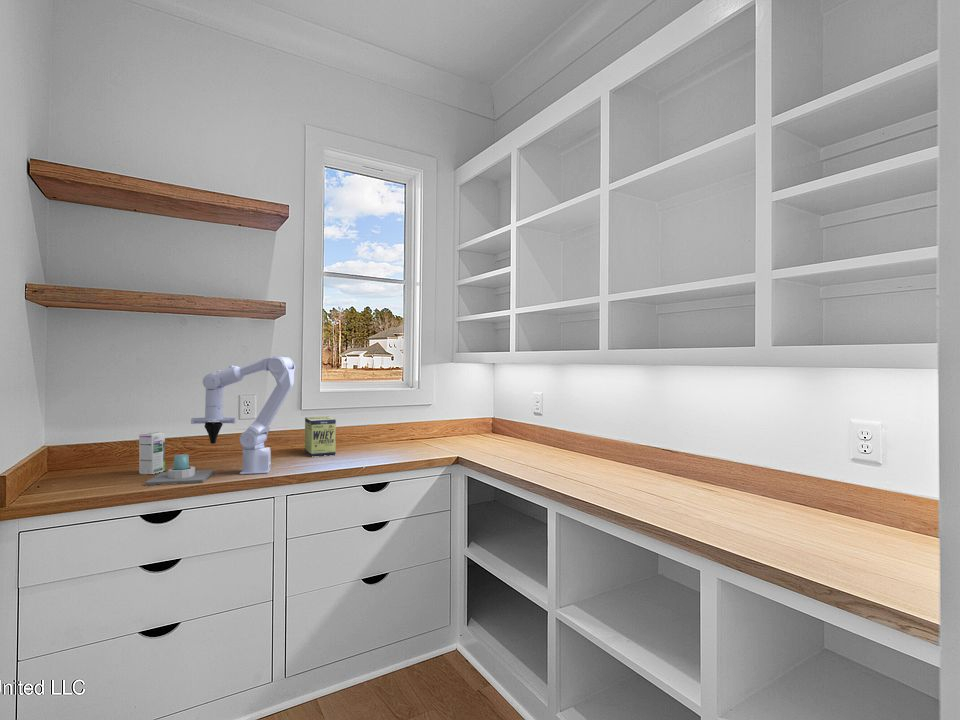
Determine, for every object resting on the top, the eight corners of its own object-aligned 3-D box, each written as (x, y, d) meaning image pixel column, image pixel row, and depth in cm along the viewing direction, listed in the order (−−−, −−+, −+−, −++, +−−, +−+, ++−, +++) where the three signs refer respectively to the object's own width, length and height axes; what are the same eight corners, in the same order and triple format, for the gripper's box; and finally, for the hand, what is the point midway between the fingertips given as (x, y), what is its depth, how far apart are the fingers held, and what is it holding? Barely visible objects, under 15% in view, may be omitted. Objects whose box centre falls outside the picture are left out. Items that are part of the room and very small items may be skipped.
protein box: (311, 457, 217) (311, 420, 217) (304, 451, 231) (304, 417, 231) (336, 455, 222) (336, 419, 222) (327, 449, 236) (328, 416, 236)
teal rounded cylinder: (189, 474, 179) (190, 454, 179) (186, 477, 175) (187, 456, 175) (175, 475, 178) (175, 454, 178) (172, 477, 174) (172, 457, 174)
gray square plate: (214, 472, 187) (214, 463, 187) (202, 482, 171) (202, 472, 171) (161, 475, 182) (161, 465, 182) (144, 485, 167) (144, 474, 167)
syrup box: (152, 474, 182) (152, 434, 182) (138, 474, 184) (138, 433, 184) (165, 471, 188) (165, 431, 188) (151, 470, 189) (152, 431, 189)
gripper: (189, 407, 183) (188, 445, 183) (233, 407, 186) (232, 444, 186) (194, 405, 189) (193, 442, 189) (237, 405, 193) (236, 441, 193)
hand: (213, 443), depth 188 cm, fingers closed
